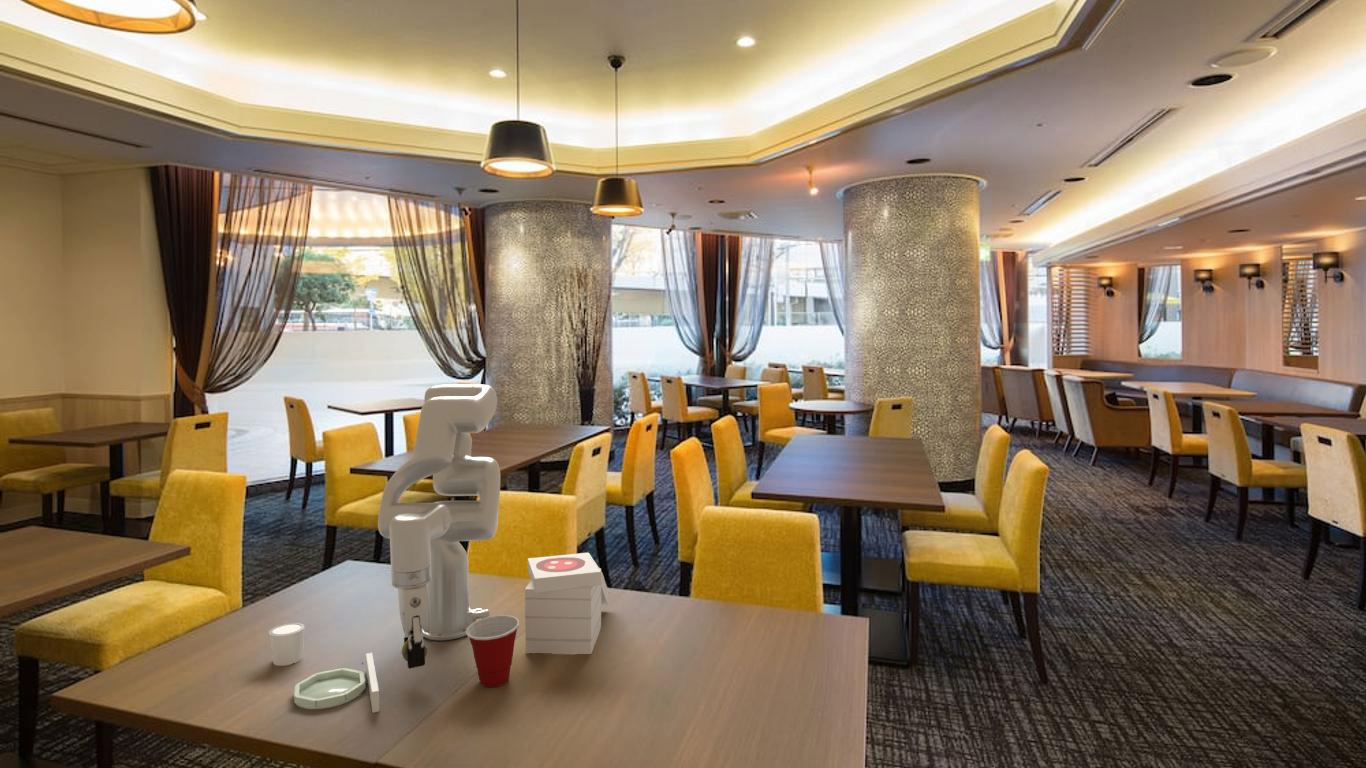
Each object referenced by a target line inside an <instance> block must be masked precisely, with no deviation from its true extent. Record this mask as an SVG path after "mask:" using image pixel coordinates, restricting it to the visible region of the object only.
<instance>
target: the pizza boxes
mask: <svg viewBox="0 0 1366 768" xmlns="http://www.w3.org/2000/svg"><path fill="white" fill-rule="evenodd" d="M527 573H528V576H529V579H530V581H529V583H528V584H527V585H526V587H525V588H524V604H525V605H524V607H525V609H524V613H525V614H524V619H525V621H524V622H525V623H524V624H525V625H524V627H525V630H524V631H525V654H529V653H552V654H551V655H575V654H574V653H579V654H591V653H593V651H594V648H595V646H594V645H596V643H597V640H598V637H599V635H600V632H601V629H602V605H606V606H608V604H609V593H610V592H609V589H608V585H607V582H606V580H605V576H604V574H603V572H602V568H600V567H599V566H598V564H597V563H596V562H595V560H594V559H593V557H592V555H591V554H590V553H589V552H580V553H579V552H578V553H569V554H559V555H550V556H540V557H539V556H538V557H528V558H527ZM571 653H572V654H571ZM591 655H592V654H591Z"/></svg>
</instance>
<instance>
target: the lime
mask: <svg viewBox="0 0 1366 768" xmlns="http://www.w3.org/2000/svg"><path fill="white" fill-rule="evenodd" d="M412 640H414V639H411V642H412ZM407 649H409V647H408V640H407V641H406V642H405V643H404V642H403V645H402V648H401V655H402V658H403V660H405V661H406V662H408V660H407ZM424 652H425V657H426V656H427V654H428V648H427V647H426V646H425V645H424Z"/></svg>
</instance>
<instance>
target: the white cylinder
mask: <svg viewBox="0 0 1366 768" xmlns="http://www.w3.org/2000/svg"><path fill="white" fill-rule="evenodd" d="M268 637H269V644H270V650H271V658H272V663H273V665H275V666H278V667H280V666H281V667H284V666H289V665H293V663H294V664H296V663H298V662H300V661H301V660H302V659H303V654H304V642H305V641H304V639H305V624H303V623H299V622H291V623H285V624H281V625H277V626H274V627H273V628H271V629H270V630H269V632H268Z"/></svg>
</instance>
